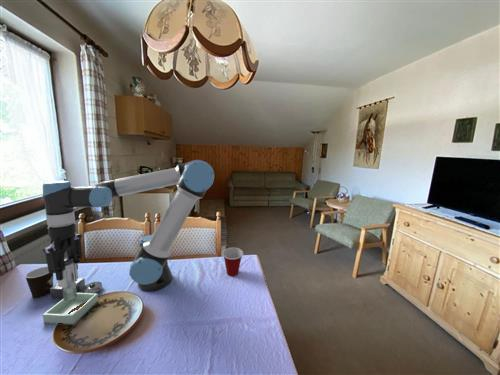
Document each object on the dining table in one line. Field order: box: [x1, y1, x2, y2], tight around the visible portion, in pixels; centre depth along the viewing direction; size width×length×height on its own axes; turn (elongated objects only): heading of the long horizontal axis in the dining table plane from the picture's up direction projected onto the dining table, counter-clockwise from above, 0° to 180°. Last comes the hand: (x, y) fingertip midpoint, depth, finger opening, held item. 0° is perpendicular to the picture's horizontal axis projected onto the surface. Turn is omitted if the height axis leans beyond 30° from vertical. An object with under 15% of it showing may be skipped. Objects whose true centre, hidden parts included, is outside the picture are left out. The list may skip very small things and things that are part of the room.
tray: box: [42, 292, 99, 326], centre depth 81 cm, size 11×12×4 cm
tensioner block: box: [50, 277, 86, 301], centre depth 91 cm, size 8×8×5 cm
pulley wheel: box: [81, 281, 103, 295], centre depth 93 cm, size 7×7×3 cm
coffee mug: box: [24, 266, 54, 299], centre depth 92 cm, size 12×9×10 cm
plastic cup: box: [222, 247, 244, 277], centre depth 109 cm, size 11×11×12 cm
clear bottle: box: [62, 256, 77, 301], centre depth 79 cm, size 4×4×16 cm
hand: (68, 282), depth 79 cm, fingers closed on clear bottle, 4 cm apart
